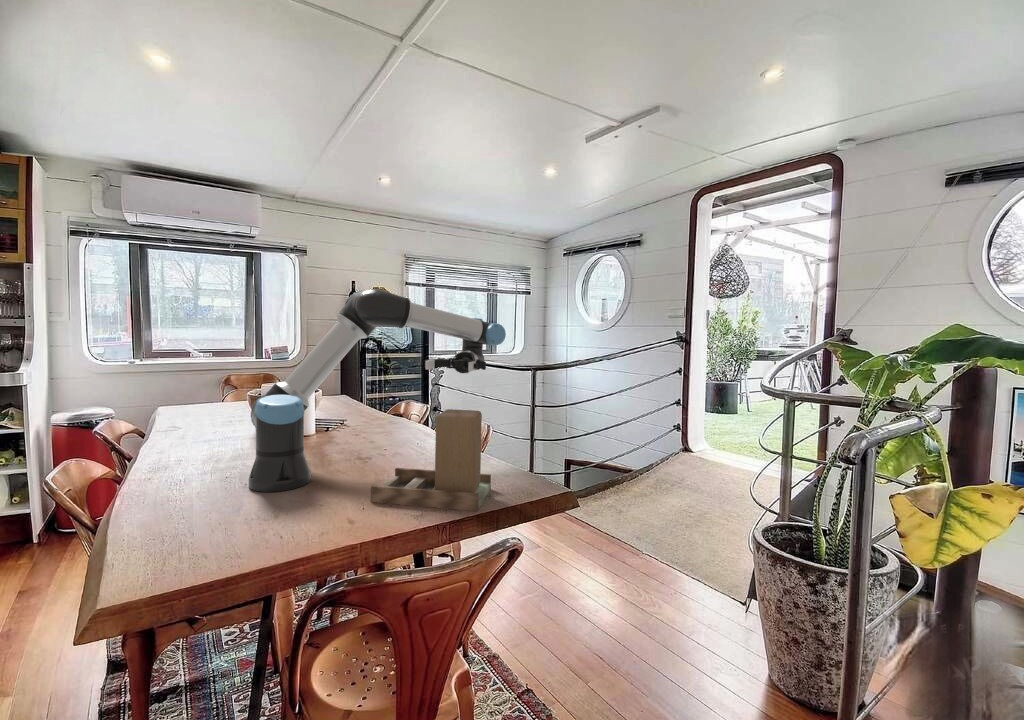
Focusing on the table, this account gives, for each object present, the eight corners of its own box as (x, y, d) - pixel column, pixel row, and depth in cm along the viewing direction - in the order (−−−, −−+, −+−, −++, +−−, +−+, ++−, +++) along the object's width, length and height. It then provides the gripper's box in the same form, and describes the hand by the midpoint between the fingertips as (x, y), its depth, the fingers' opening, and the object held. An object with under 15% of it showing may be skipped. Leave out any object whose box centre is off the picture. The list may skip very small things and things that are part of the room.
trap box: (370, 502, 113) (370, 486, 113) (396, 481, 129) (396, 467, 128) (477, 511, 109) (477, 494, 109) (490, 488, 125) (491, 474, 124)
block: (480, 484, 122) (482, 410, 121) (473, 497, 112) (474, 417, 111) (444, 482, 123) (445, 408, 122) (433, 495, 113) (434, 415, 112)
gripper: (500, 374, 159) (487, 380, 138) (431, 371, 163) (408, 376, 142) (500, 352, 159) (488, 355, 138) (431, 350, 162) (409, 352, 141)
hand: (447, 366), depth 140 cm, fingers open, 13 cm apart
